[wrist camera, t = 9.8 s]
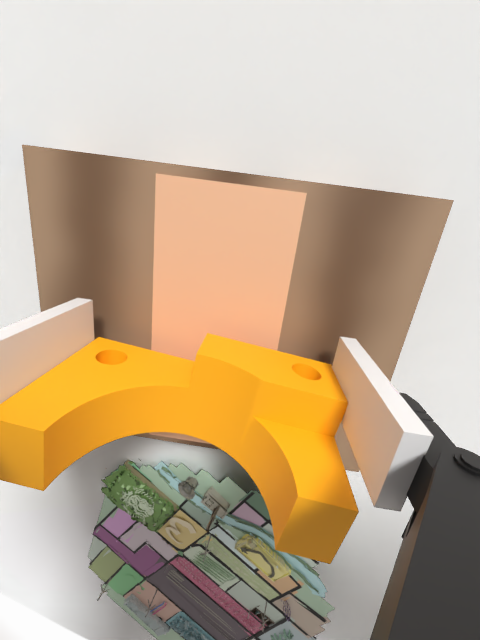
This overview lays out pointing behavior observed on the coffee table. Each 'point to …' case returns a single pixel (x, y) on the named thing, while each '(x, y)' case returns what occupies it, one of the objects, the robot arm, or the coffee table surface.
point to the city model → (201, 559)
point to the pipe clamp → (197, 425)
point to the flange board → (229, 258)
